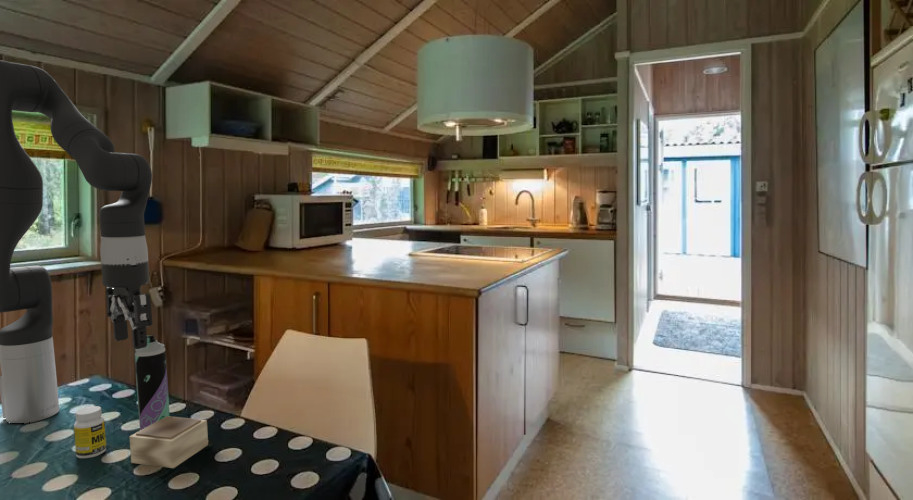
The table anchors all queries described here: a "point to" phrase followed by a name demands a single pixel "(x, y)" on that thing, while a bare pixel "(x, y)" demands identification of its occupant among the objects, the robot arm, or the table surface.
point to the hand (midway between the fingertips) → (130, 343)
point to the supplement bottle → (89, 432)
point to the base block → (168, 441)
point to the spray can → (151, 382)
